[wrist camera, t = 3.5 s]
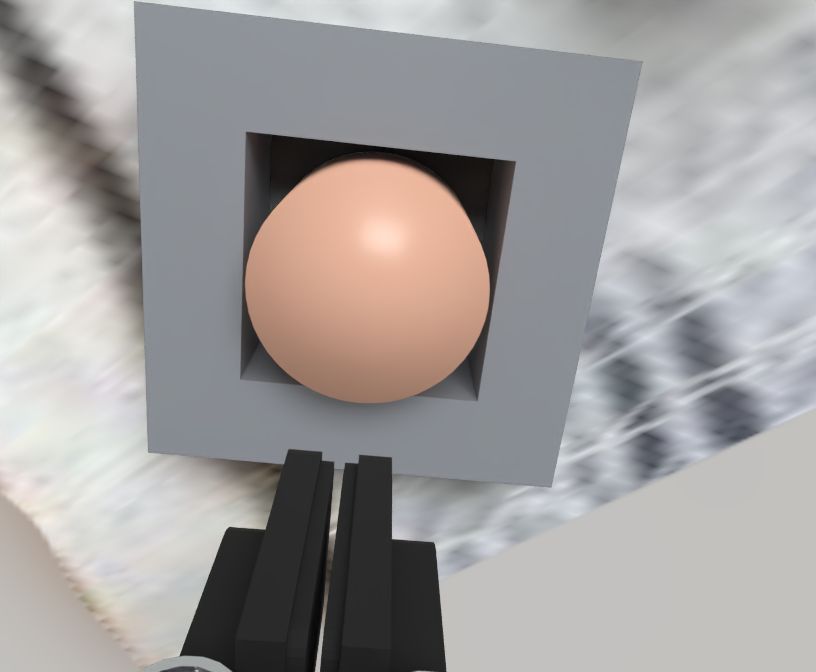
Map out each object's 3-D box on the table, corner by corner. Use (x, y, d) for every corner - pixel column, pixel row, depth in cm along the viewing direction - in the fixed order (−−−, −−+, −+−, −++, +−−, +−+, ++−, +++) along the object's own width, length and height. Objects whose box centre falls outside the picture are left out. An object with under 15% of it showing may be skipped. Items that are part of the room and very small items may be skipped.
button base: (599, 62, 27) (642, 61, 22) (529, 427, 32) (551, 487, 28) (181, 13, 26) (133, 1, 21) (185, 396, 32) (148, 452, 27)
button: (488, 163, 26) (507, 184, 21) (460, 357, 29) (471, 413, 24) (275, 140, 26) (248, 155, 21) (268, 339, 28) (242, 392, 24)
